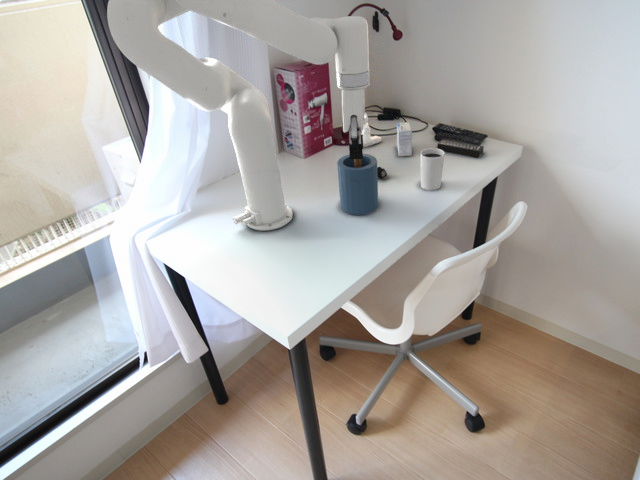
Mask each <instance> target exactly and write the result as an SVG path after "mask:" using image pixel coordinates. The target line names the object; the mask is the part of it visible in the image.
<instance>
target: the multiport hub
mask: <svg viewBox="0 0 640 480" xmlns="http://www.w3.org/2000/svg"><path fill="white" fill-rule="evenodd" d="M436 148H437V149H441V150H443V151H444V152H446V153H450V154H456V155H461V156H466V157H471V158H476V159H478V158H480V157H482V155H483V154H484V149H485V146H483V145H479V144H472V143H466V142H461V141H456V140H450V139H446V138H443V139H441V140H440V141H438V143H437V147H436Z"/></svg>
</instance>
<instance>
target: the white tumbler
mask: <svg viewBox="0 0 640 480" xmlns="http://www.w3.org/2000/svg"><path fill="white" fill-rule="evenodd" d="M437 148H438V147H429V148H424V149H422V150H421V151H420V188H422V189H423V190H426V191H435V190H438V189H440V187H441V184H442V177H443V171H444V170H443V169H444V162H445V156H446V155H445V154H446V153H445V152H444V151H443V150H441V149H437Z"/></svg>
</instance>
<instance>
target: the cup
mask: <svg viewBox="0 0 640 480" xmlns="http://www.w3.org/2000/svg"><path fill="white" fill-rule="evenodd" d="M336 164H337V165H336V166H337V178H338V190H339V203H340V204H339V205H340V209H341V211H342V212H344V213H345V214H347V215H352V216H364V215H368V214H371V213H373V212H374V211H376V210H377V209H378V207H379V188H378V187H379V186H378V185H379V183H378V181H379V178H378V177H377V167H378V159H377V158H376V157H375V156H374V155H371V154H367V153H363V158H362V159H361V166H362V167H359V168H355V165H354V159H350V154H346V155H343V156H341V157H340V158H339V159H338V160H337V162H336Z"/></svg>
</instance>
